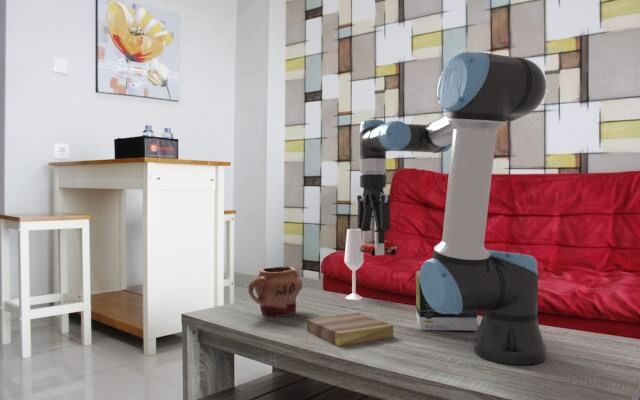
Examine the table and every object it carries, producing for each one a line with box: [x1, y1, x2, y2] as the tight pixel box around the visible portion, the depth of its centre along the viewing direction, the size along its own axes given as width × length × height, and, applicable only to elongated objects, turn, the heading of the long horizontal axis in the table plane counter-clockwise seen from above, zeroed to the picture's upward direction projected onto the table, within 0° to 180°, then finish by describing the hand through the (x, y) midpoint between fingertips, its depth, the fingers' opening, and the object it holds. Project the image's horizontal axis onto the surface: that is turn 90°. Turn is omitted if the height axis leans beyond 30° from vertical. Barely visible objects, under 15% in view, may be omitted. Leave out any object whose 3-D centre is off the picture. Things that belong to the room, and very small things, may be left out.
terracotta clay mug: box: [248, 266, 303, 318], centre depth 152 cm, size 20×12×14 cm, turn 143°
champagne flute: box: [343, 228, 365, 301], centre depth 178 cm, size 7×7×24 cm
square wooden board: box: [306, 312, 394, 347], centre depth 131 cm, size 16×16×3 cm
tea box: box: [415, 270, 478, 332], centre depth 139 cm, size 15×10×15 cm, turn 84°
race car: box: [360, 239, 400, 257], centre depth 150 cm, size 13×5×4 cm, turn 126°
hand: (373, 253), depth 149 cm, fingers closed on race car, 6 cm apart
